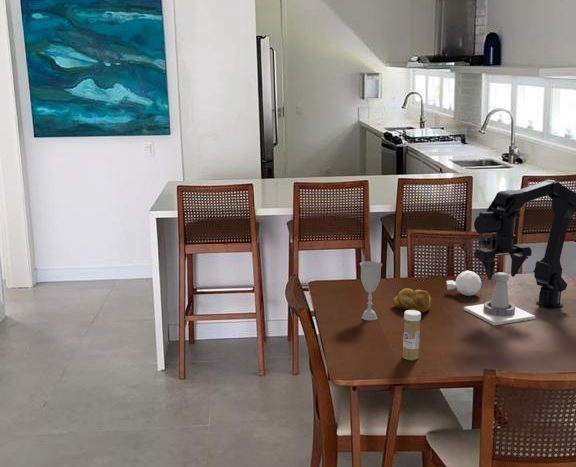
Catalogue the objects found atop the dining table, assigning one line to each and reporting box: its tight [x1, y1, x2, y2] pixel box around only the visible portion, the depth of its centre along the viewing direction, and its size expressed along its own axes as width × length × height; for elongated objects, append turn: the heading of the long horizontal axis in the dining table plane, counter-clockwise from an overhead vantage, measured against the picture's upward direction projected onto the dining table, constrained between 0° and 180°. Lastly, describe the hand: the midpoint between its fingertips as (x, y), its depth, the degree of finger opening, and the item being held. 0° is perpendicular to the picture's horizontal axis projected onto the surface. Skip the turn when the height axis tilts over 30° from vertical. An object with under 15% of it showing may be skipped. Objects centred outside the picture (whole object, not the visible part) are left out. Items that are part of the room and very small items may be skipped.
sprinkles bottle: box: [402, 310, 422, 361], centre depth 200 cm, size 5×5×14 cm
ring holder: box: [463, 300, 536, 326], centre depth 236 cm, size 16×16×3 cm
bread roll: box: [392, 287, 432, 314], centre depth 241 cm, size 13×10×8 cm
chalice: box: [359, 260, 383, 321], centre depth 231 cm, size 7×7×18 cm
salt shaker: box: [490, 271, 510, 309], centre depth 235 cm, size 6×6×13 cm
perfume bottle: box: [446, 270, 483, 297], centre depth 256 cm, size 9×9×12 cm
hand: (501, 278), depth 234 cm, fingers open, 9 cm apart
